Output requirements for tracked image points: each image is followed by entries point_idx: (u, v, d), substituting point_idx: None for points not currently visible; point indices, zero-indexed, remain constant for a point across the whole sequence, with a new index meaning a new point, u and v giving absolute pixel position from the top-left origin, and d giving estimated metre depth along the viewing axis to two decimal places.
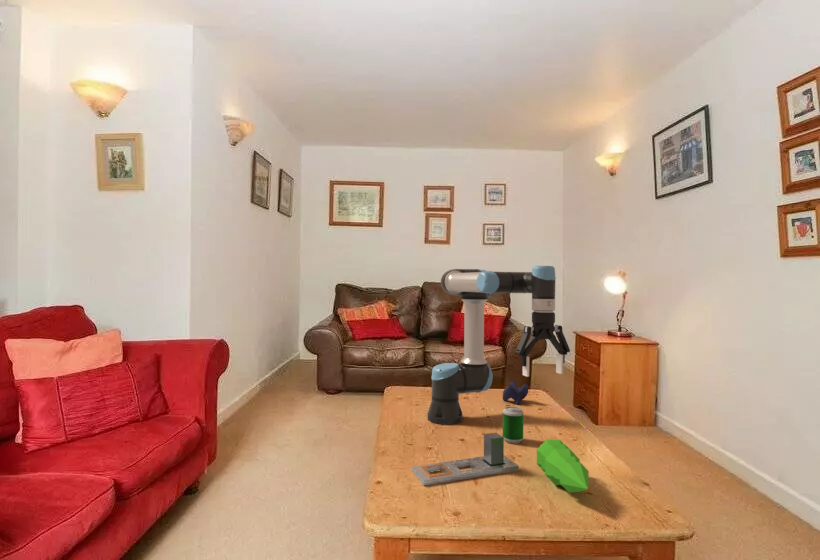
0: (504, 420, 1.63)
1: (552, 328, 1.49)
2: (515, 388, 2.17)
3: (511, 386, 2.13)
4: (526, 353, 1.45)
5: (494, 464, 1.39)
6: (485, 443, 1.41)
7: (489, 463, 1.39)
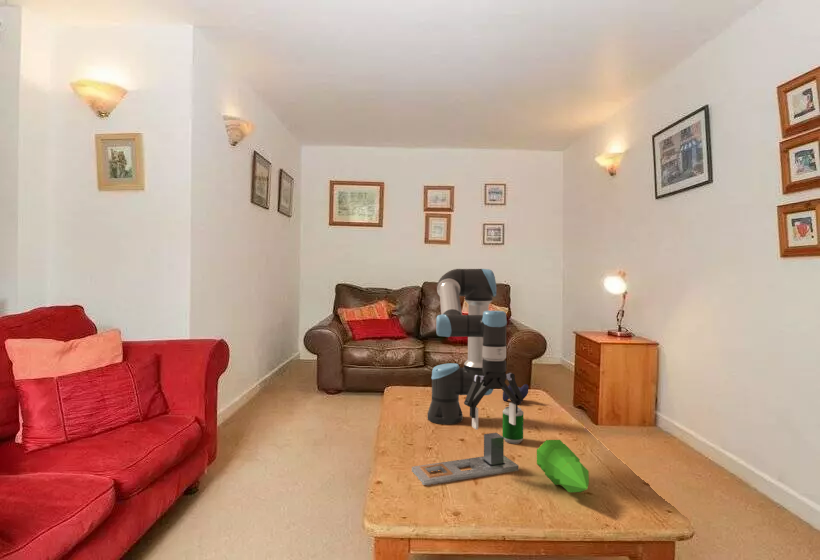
0: (504, 420, 1.63)
1: (503, 377, 1.41)
2: None
3: None
4: (475, 404, 1.37)
5: (494, 464, 1.39)
6: (485, 443, 1.41)
7: (489, 463, 1.39)
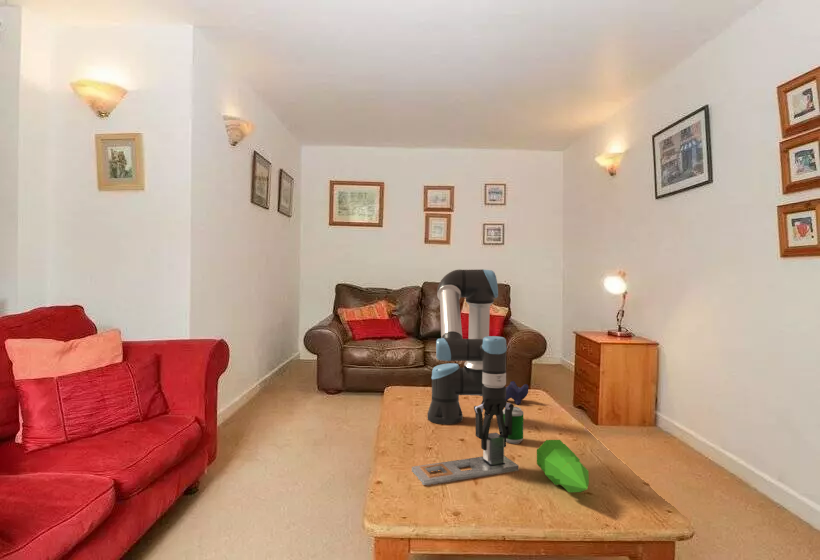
0: (504, 420, 1.63)
1: (503, 403, 1.41)
2: (515, 388, 2.17)
3: (511, 386, 2.13)
4: (486, 436, 1.39)
5: (494, 464, 1.39)
6: None
7: (489, 463, 1.39)
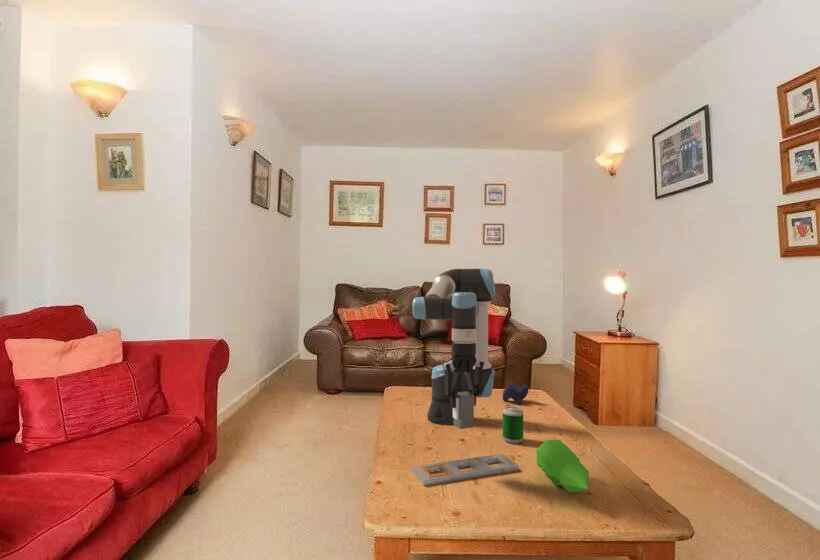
0: (504, 420, 1.63)
1: (473, 360, 1.37)
2: (515, 388, 2.17)
3: (511, 386, 2.13)
4: (455, 394, 1.35)
5: (464, 422, 1.35)
6: None
7: (458, 421, 1.35)
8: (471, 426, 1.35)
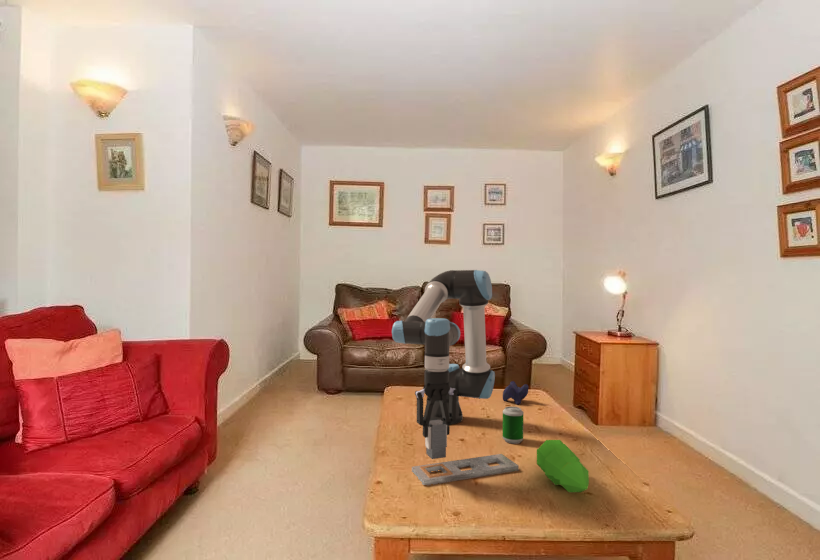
0: (504, 420, 1.63)
1: (447, 388, 1.34)
2: (515, 388, 2.17)
3: (511, 386, 2.13)
4: (427, 423, 1.32)
5: (436, 452, 1.31)
6: None
7: (430, 451, 1.32)
8: (443, 456, 1.32)
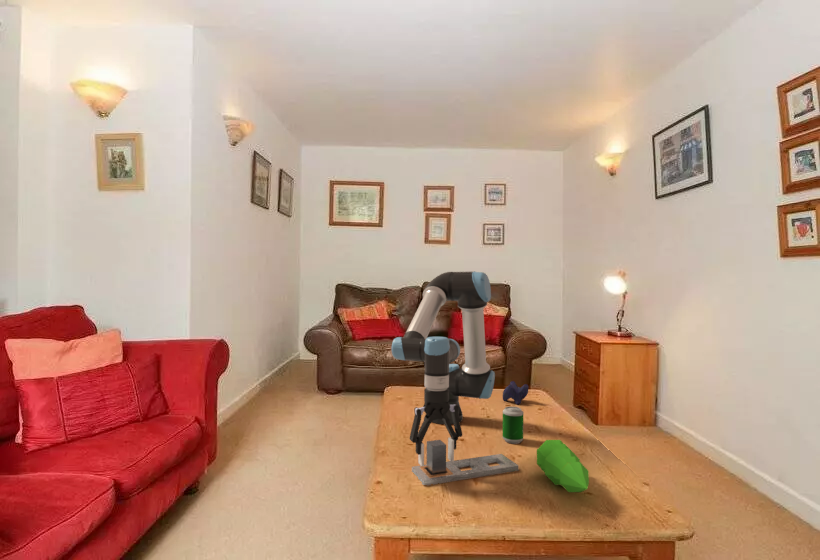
0: (504, 420, 1.63)
1: (446, 406, 1.34)
2: (515, 388, 2.17)
3: (511, 386, 2.13)
4: (420, 440, 1.31)
5: (436, 473, 1.32)
6: (427, 451, 1.34)
7: (431, 472, 1.32)
8: None
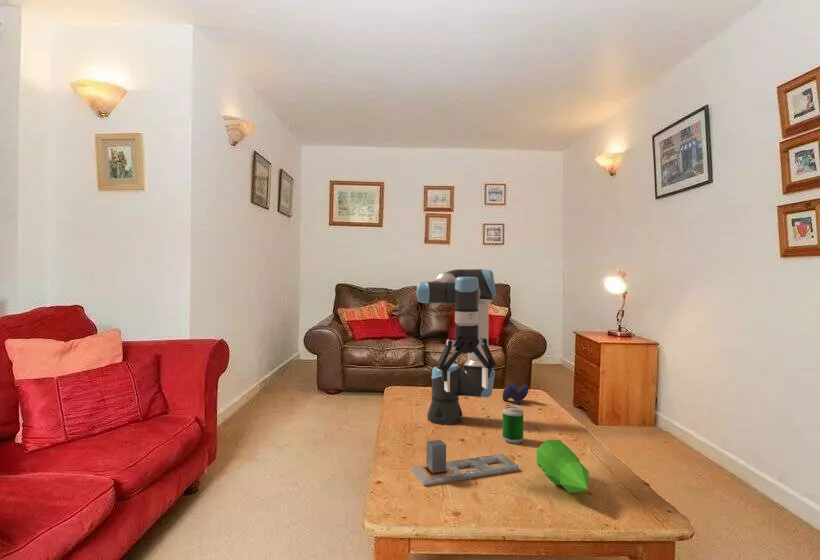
0: (504, 420, 1.63)
1: (476, 341, 1.43)
2: (515, 388, 2.17)
3: (511, 386, 2.13)
4: (446, 368, 1.40)
5: (436, 473, 1.32)
6: (427, 451, 1.34)
7: (431, 472, 1.32)
8: None
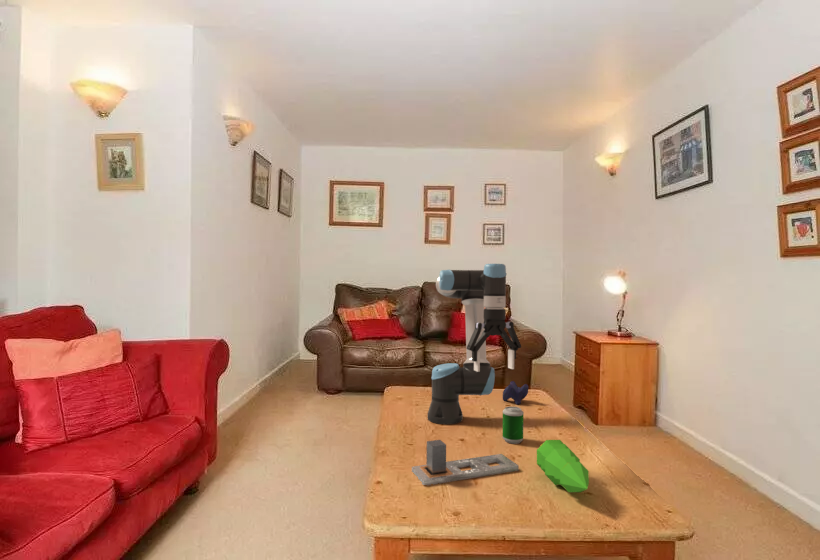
0: (504, 420, 1.63)
1: (503, 324, 1.53)
2: (515, 388, 2.17)
3: (511, 386, 2.13)
4: (476, 349, 1.49)
5: (436, 473, 1.32)
6: (427, 451, 1.34)
7: (431, 472, 1.32)
8: None
